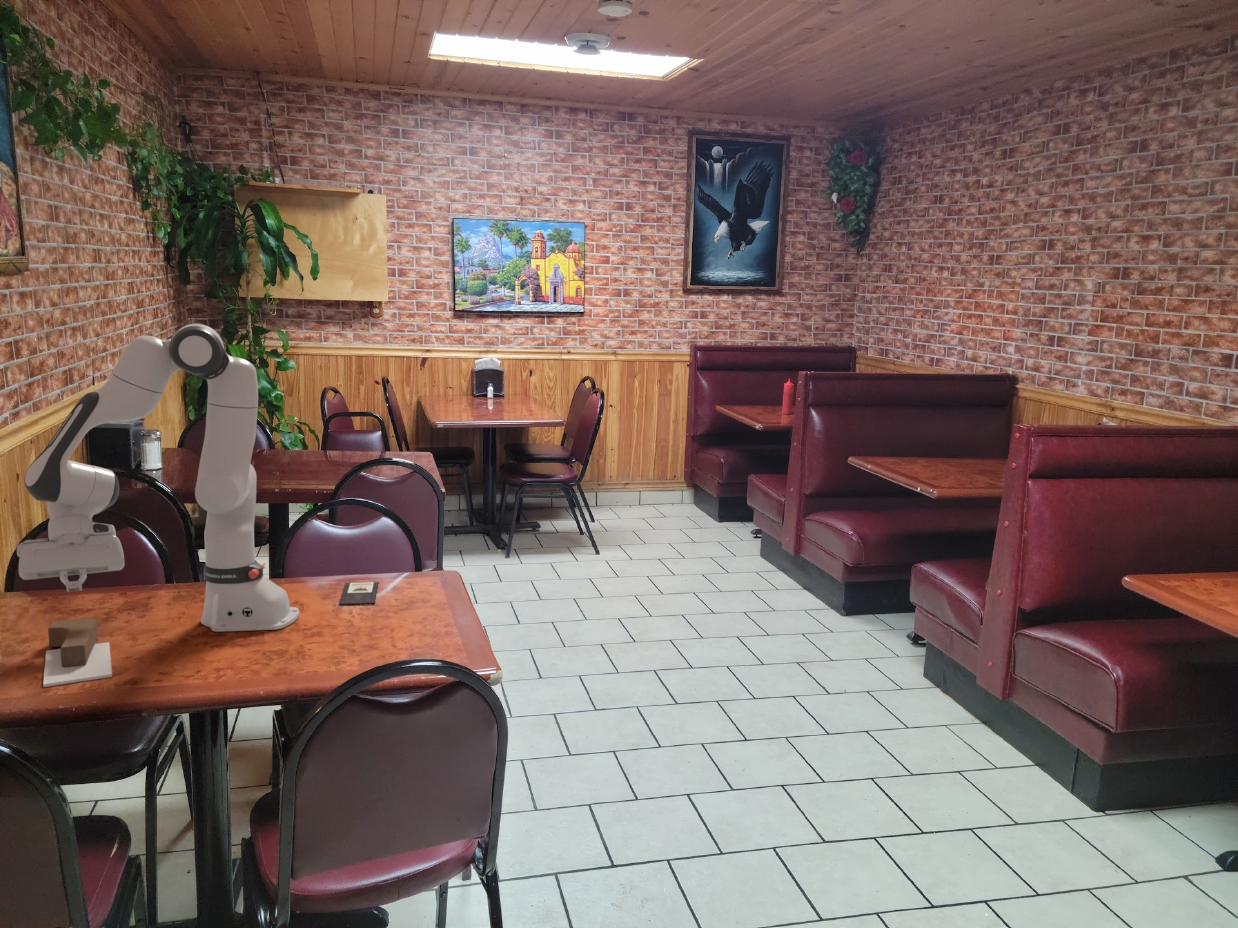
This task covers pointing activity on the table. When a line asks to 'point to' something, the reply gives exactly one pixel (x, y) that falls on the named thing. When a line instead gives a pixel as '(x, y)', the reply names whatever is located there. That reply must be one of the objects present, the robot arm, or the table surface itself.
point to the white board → (77, 667)
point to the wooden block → (74, 640)
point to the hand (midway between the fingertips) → (74, 590)
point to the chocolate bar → (359, 593)
